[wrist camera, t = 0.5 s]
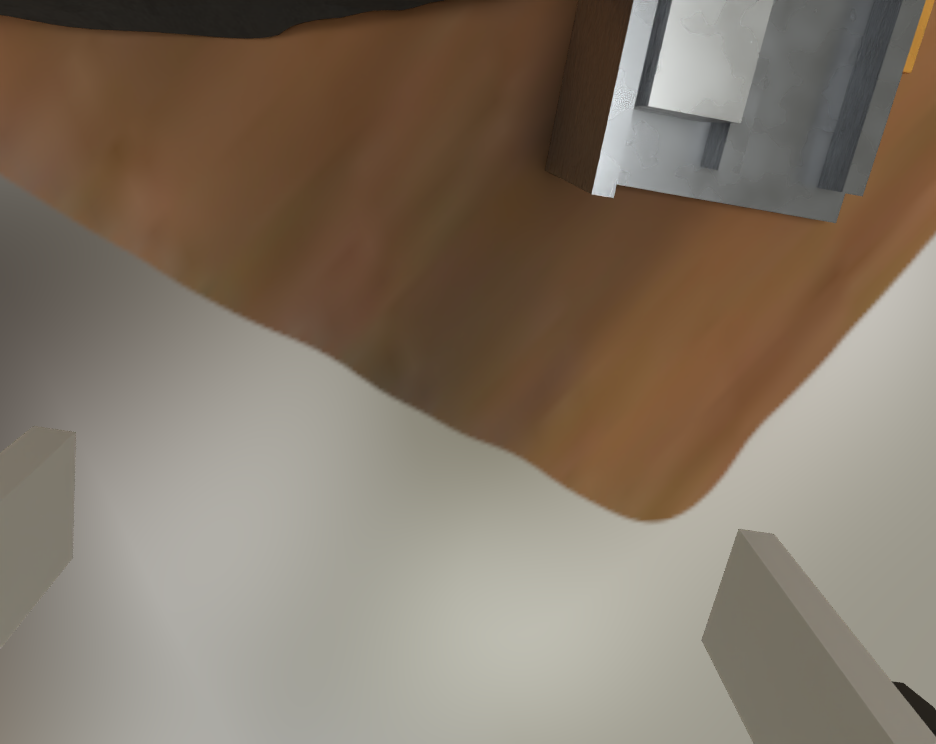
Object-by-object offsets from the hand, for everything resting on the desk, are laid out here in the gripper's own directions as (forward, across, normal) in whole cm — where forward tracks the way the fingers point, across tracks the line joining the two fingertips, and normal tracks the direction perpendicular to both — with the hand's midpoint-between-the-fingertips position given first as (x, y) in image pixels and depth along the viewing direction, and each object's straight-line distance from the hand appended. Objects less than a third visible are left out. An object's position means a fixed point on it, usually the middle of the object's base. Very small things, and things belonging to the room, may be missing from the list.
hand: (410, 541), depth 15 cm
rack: (+26, +13, +15) cm, 33 cm away
